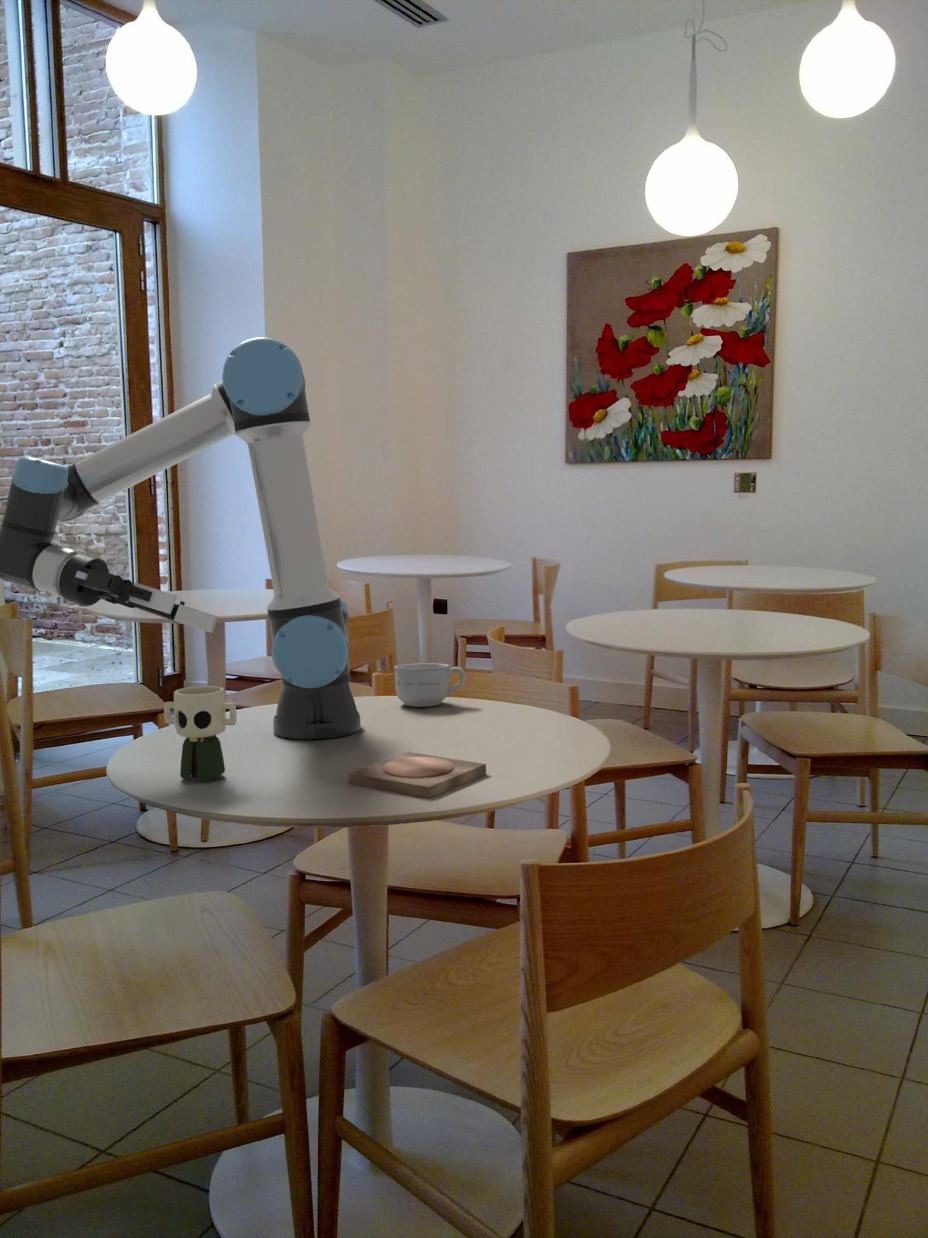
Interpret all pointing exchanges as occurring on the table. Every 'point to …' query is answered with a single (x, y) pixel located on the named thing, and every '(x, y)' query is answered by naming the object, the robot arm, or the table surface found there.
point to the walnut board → (417, 774)
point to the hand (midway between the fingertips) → (194, 615)
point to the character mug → (200, 729)
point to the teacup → (425, 683)
